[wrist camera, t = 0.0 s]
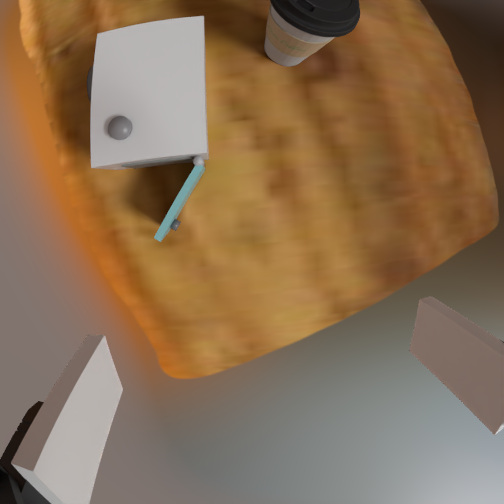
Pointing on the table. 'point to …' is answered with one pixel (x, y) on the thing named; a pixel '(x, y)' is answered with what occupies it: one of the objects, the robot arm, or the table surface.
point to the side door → (181, 199)
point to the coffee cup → (306, 27)
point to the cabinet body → (149, 95)
